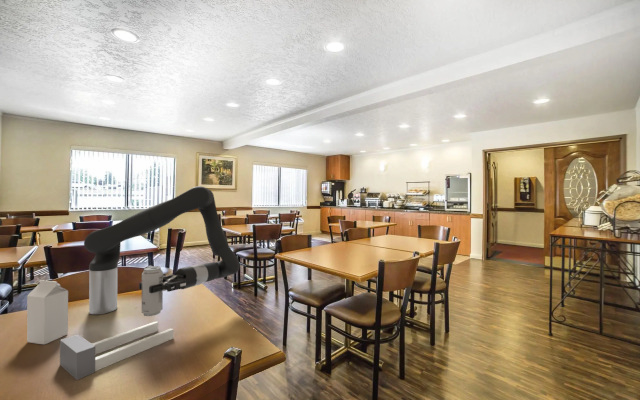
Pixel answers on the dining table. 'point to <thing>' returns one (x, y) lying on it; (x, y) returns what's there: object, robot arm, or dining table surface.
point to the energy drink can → (151, 301)
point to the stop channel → (81, 353)
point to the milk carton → (47, 313)
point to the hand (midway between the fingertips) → (144, 288)
